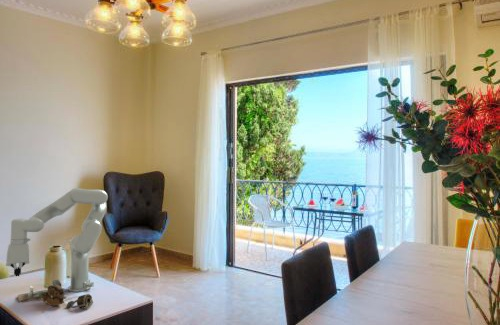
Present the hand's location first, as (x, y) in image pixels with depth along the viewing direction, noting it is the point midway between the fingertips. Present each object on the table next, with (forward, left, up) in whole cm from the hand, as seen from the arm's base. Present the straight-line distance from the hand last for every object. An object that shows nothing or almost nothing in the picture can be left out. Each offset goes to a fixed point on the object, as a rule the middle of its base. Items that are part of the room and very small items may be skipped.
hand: (17, 275), depth 192 cm
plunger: (-6, -4, -12) cm, 13 cm away
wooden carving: (-24, +3, -14) cm, 28 cm away
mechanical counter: (-39, +3, -14) cm, 42 cm away
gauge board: (-8, -8, -13) cm, 17 cm away
